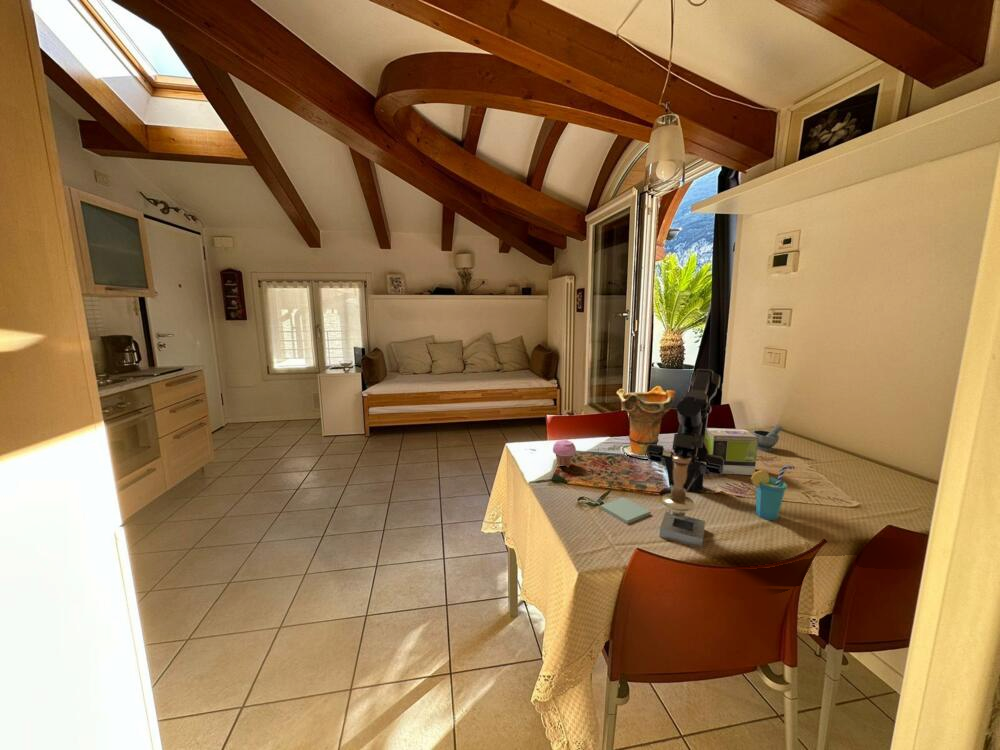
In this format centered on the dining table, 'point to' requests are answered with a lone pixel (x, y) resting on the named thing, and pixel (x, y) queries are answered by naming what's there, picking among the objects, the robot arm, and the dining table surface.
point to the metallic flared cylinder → (679, 487)
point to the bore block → (682, 529)
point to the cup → (769, 493)
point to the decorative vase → (645, 416)
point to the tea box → (733, 449)
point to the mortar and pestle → (767, 438)
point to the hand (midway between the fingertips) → (678, 487)
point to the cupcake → (564, 452)
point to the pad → (625, 510)
